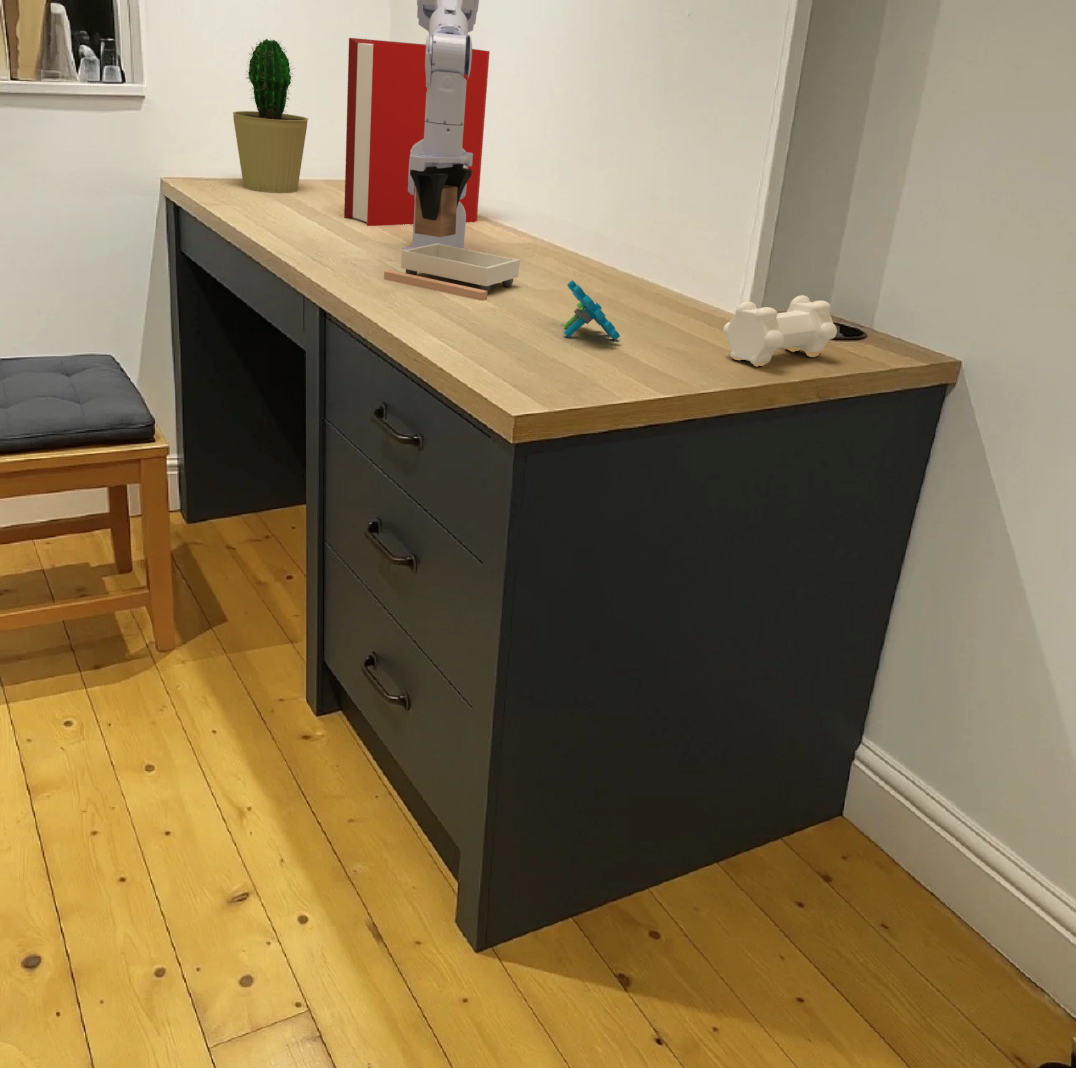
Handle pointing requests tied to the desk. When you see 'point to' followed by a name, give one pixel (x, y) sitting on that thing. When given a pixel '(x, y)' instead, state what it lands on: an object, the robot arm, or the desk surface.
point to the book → (399, 128)
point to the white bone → (779, 329)
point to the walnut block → (439, 215)
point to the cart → (460, 265)
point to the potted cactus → (270, 126)
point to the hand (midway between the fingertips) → (438, 217)
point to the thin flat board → (435, 285)
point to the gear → (587, 314)
